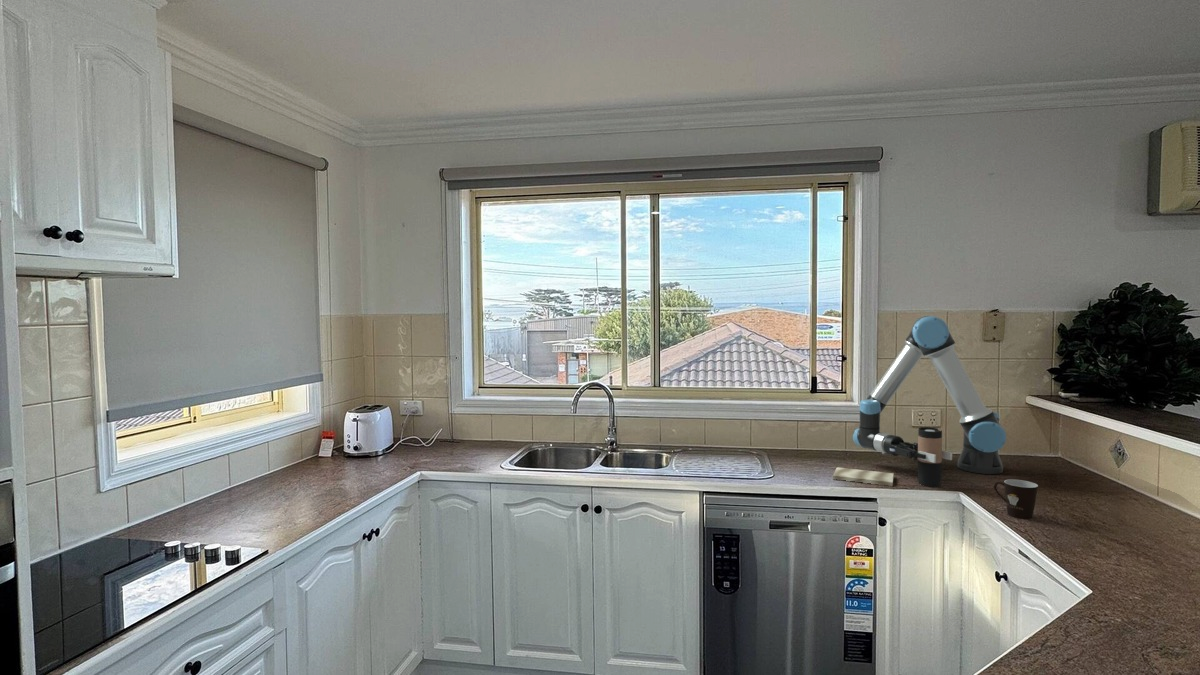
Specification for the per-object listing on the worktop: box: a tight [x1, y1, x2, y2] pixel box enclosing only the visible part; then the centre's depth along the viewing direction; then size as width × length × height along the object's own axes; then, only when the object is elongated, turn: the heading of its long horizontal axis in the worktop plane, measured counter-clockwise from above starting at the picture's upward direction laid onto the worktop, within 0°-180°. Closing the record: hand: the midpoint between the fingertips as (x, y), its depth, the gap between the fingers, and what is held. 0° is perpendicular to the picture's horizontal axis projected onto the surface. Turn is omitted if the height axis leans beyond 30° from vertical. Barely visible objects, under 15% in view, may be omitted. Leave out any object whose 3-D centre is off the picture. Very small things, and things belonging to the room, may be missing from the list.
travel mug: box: [917, 426, 943, 488], centre depth 220 cm, size 8×8×20 cm
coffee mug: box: [993, 479, 1039, 520], centre depth 189 cm, size 12×9×10 cm
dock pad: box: [832, 467, 894, 487], centre depth 229 cm, size 20×13×2 cm, turn 63°
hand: (943, 457), depth 215 cm, fingers closed on travel mug, 7 cm apart
